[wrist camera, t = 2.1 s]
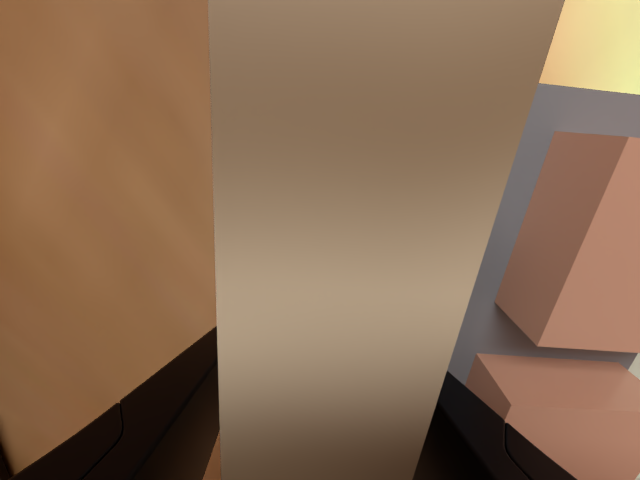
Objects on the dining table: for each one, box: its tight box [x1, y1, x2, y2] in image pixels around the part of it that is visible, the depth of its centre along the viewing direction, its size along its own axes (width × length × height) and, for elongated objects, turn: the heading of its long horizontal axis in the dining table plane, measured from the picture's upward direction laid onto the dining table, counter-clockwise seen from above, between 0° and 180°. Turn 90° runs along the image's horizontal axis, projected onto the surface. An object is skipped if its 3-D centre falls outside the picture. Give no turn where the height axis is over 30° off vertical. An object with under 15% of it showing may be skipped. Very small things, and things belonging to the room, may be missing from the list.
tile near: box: [495, 131, 640, 353], centre depth 8 cm, size 5×5×2 cm
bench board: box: [447, 83, 640, 385], centre depth 12 cm, size 14×13×4 cm
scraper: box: [208, 0, 565, 480], centre depth 7 cm, size 14×3×5 cm, turn 174°
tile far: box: [465, 353, 640, 480], centre depth 11 cm, size 5×5×2 cm
